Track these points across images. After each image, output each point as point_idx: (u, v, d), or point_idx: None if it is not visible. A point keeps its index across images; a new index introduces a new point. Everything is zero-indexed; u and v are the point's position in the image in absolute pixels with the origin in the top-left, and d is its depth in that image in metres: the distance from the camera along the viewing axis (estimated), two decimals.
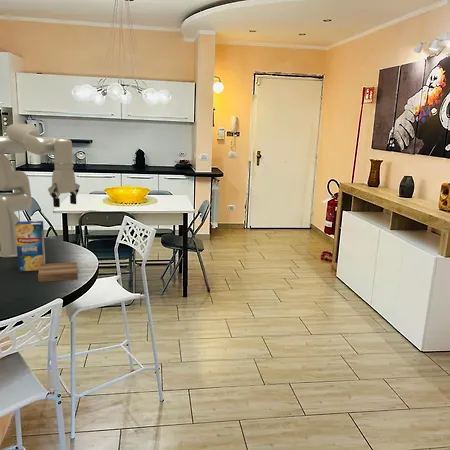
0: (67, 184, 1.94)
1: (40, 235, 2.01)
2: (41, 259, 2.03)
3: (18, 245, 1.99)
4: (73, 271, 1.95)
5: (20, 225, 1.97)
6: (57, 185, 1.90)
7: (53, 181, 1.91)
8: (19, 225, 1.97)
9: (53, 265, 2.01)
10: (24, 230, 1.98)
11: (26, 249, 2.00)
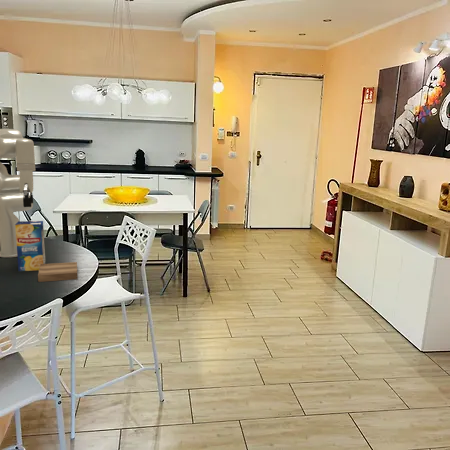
0: (32, 183, 1.98)
1: (40, 235, 2.01)
2: (41, 259, 2.03)
3: (18, 245, 1.99)
4: (73, 271, 1.95)
5: (20, 225, 1.97)
6: (28, 185, 1.93)
7: (23, 181, 1.92)
8: (19, 225, 1.97)
9: (53, 265, 2.01)
10: (24, 230, 1.98)
11: (26, 249, 2.00)
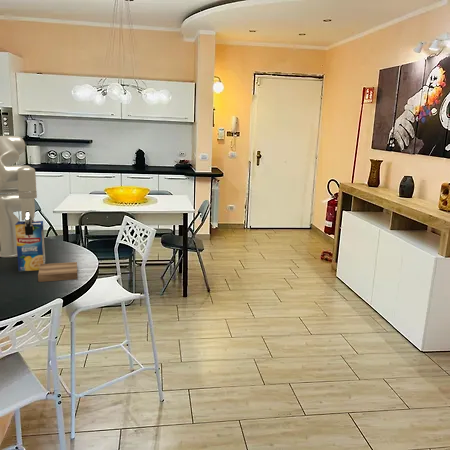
0: (34, 210, 2.00)
1: (40, 235, 2.01)
2: (41, 259, 2.03)
3: (18, 245, 1.99)
4: (73, 271, 1.95)
5: (20, 225, 1.97)
6: (30, 213, 1.96)
7: (24, 209, 1.95)
8: (19, 225, 1.97)
9: (53, 265, 2.01)
10: (24, 230, 1.98)
11: (26, 249, 2.00)
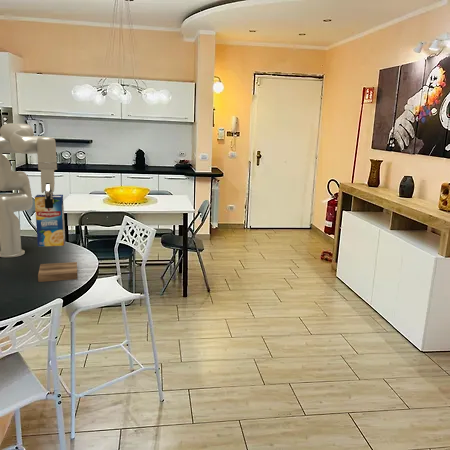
0: (54, 183, 1.92)
1: (60, 208, 1.92)
2: (61, 234, 1.94)
3: (38, 219, 1.90)
4: (73, 271, 1.95)
5: (40, 198, 1.89)
6: (50, 184, 1.87)
7: (44, 181, 1.86)
8: (39, 198, 1.89)
9: (53, 265, 2.01)
10: (43, 203, 1.89)
11: (45, 223, 1.91)
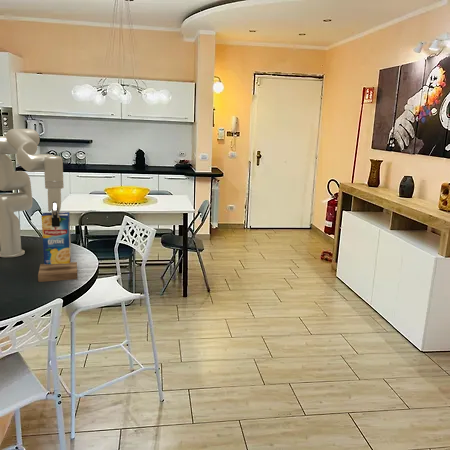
0: None
1: (67, 227, 1.92)
2: (68, 252, 1.94)
3: (44, 237, 1.91)
4: (73, 271, 1.95)
5: (46, 216, 1.89)
6: (57, 203, 1.87)
7: (51, 200, 1.86)
8: (45, 216, 1.89)
9: (53, 265, 2.01)
10: (50, 222, 1.90)
11: (52, 241, 1.92)
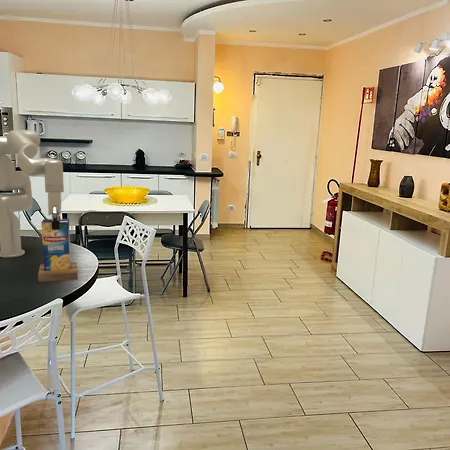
0: None
1: (67, 233, 1.93)
2: (68, 258, 1.95)
3: (44, 244, 1.91)
4: (73, 271, 1.95)
5: (46, 223, 1.90)
6: (57, 207, 1.88)
7: (51, 204, 1.87)
8: (45, 223, 1.90)
9: None
10: (50, 228, 1.91)
11: (52, 248, 1.93)
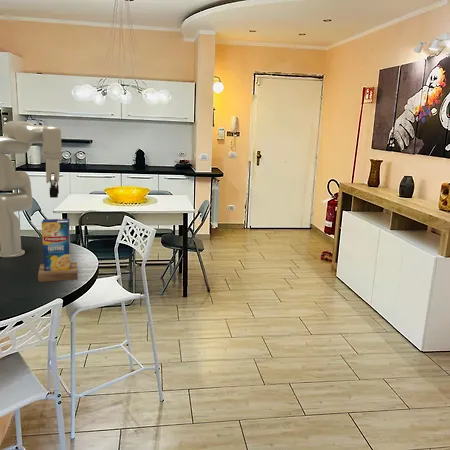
0: None
1: (67, 233, 1.93)
2: (68, 258, 1.96)
3: (44, 244, 1.91)
4: (73, 271, 1.95)
5: (47, 223, 1.90)
6: (55, 174, 1.85)
7: (49, 171, 1.84)
8: (45, 223, 1.90)
9: None
10: (50, 228, 1.91)
11: (52, 248, 1.93)
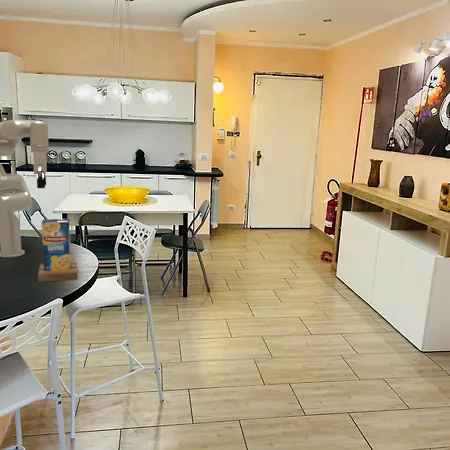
0: (46, 165, 2.00)
1: (67, 233, 1.93)
2: (68, 258, 1.96)
3: (44, 244, 1.91)
4: (73, 271, 1.95)
5: (47, 223, 1.90)
6: (42, 166, 1.95)
7: (36, 163, 1.94)
8: (46, 223, 1.90)
9: None
10: (50, 228, 1.91)
11: (52, 248, 1.93)
